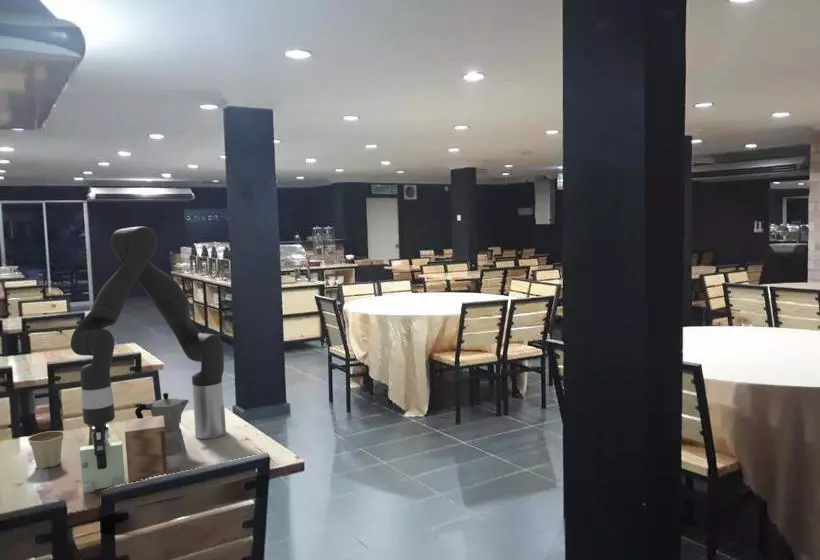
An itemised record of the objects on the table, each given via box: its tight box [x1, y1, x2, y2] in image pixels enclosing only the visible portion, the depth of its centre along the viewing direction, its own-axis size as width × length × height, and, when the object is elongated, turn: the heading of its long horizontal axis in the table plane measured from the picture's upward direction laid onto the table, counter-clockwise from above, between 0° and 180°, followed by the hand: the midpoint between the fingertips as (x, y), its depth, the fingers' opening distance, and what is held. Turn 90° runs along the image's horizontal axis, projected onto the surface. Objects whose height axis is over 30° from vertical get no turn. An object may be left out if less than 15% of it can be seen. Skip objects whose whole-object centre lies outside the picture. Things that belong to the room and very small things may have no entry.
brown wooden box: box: [124, 415, 169, 483], centre depth 185 cm, size 10×11×14 cm
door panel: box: [79, 440, 126, 492], centre depth 176 cm, size 10×4×11 cm, turn 112°
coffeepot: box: [134, 392, 190, 456], centre depth 201 cm, size 15×9×18 cm, turn 116°
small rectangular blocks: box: [82, 477, 123, 494], centre depth 177 cm, size 9×6×2 cm, turn 112°
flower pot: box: [27, 430, 65, 469], centre depth 193 cm, size 9×9×9 cm
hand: (103, 462), depth 177 cm, fingers open, 8 cm apart
